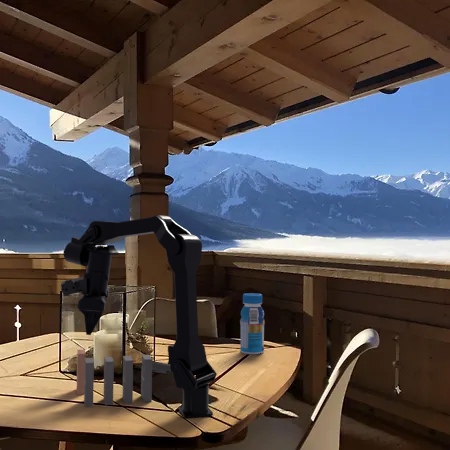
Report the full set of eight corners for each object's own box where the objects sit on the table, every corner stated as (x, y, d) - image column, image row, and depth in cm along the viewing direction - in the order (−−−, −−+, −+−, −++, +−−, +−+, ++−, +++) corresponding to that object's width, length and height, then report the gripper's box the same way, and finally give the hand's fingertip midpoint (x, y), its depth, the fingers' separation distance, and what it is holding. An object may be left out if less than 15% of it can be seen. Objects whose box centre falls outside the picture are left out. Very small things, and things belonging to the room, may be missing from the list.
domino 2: (91, 399, 123) (92, 357, 123) (93, 406, 118) (93, 362, 118) (84, 400, 122) (84, 358, 123) (84, 406, 118) (85, 363, 118)
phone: (143, 359, 161) (182, 365, 154) (142, 363, 161) (182, 369, 154) (126, 365, 154) (167, 371, 147) (126, 368, 154) (167, 375, 147)
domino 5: (148, 395, 127) (148, 354, 127) (151, 401, 122) (152, 359, 123) (140, 395, 126) (141, 355, 127) (144, 402, 122) (144, 359, 122)
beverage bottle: (235, 352, 176) (235, 294, 177) (248, 348, 183) (248, 292, 184) (256, 356, 171) (256, 296, 172) (268, 351, 178) (269, 294, 179)
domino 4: (129, 396, 126) (130, 355, 126) (132, 403, 121) (133, 360, 121) (122, 397, 125) (123, 356, 125) (124, 403, 120) (125, 360, 121)
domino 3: (111, 398, 124) (111, 356, 125) (113, 404, 120) (113, 361, 120) (103, 398, 124) (104, 357, 124) (105, 405, 119) (105, 361, 119)
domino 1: (83, 388, 132) (84, 349, 132) (84, 394, 127) (85, 353, 128) (76, 389, 131) (77, 349, 132) (77, 394, 127) (77, 353, 127)
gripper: (70, 260, 139) (62, 317, 139) (60, 272, 120) (51, 337, 121) (112, 265, 141) (104, 321, 141) (108, 277, 122) (99, 341, 123)
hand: (90, 329), depth 132 cm, fingers open, 9 cm apart
